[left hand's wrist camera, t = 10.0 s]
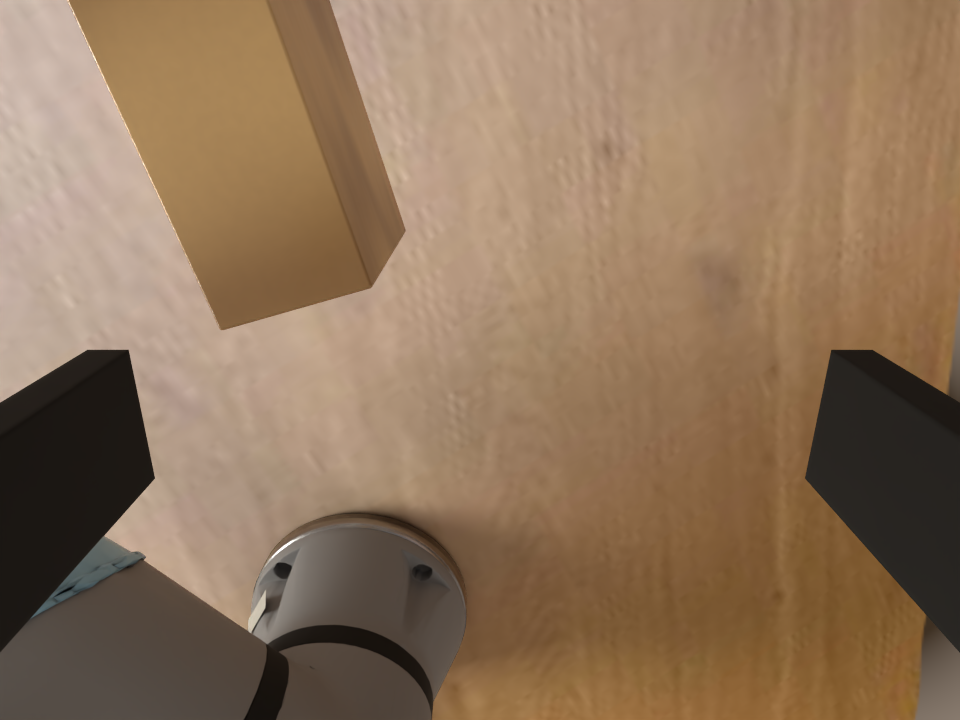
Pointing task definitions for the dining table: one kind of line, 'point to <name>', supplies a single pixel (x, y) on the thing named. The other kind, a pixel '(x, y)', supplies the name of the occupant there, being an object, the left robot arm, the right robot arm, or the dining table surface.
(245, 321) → the bar
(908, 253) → the dining table surface
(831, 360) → the left robot arm
